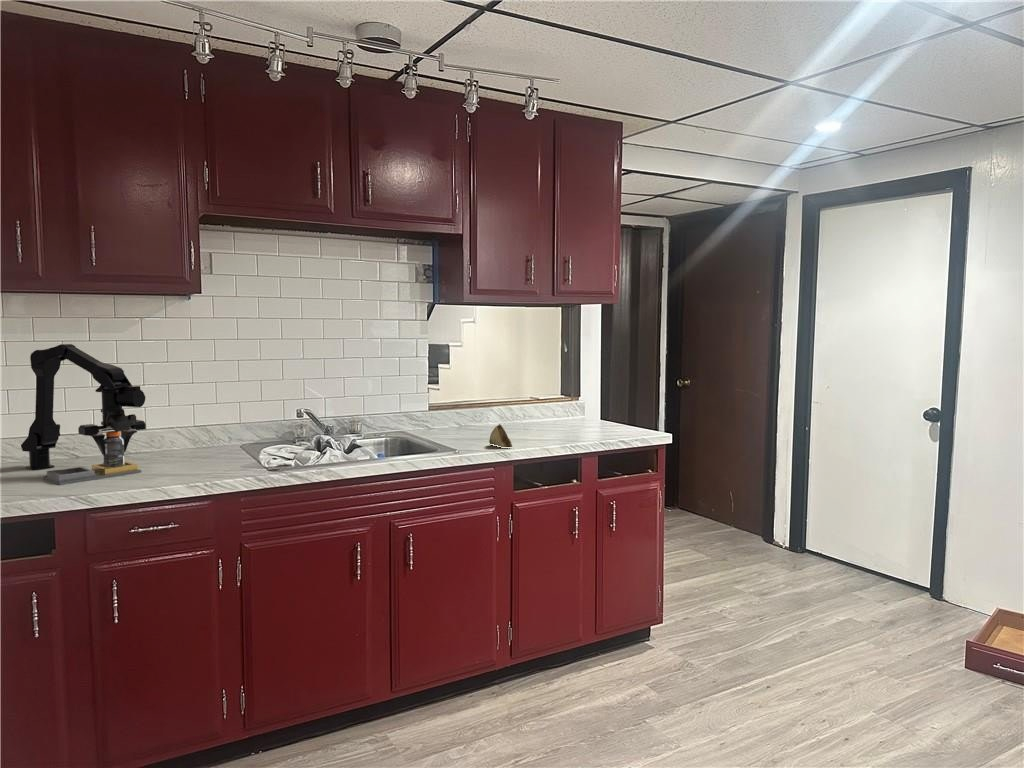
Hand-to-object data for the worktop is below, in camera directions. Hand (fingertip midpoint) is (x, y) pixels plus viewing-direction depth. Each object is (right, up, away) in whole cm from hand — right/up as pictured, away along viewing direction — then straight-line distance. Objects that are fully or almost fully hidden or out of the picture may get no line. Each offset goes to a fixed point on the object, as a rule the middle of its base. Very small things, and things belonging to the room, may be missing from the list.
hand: (113, 453), depth 235 cm
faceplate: (-4, -7, -5) cm, 9 cm away
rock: (+125, -3, +54) cm, 136 cm away
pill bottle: (0, -4, 0) cm, 4 cm away
